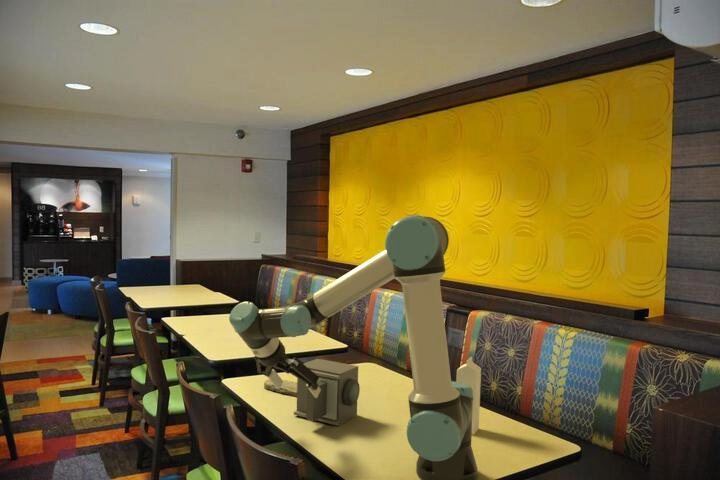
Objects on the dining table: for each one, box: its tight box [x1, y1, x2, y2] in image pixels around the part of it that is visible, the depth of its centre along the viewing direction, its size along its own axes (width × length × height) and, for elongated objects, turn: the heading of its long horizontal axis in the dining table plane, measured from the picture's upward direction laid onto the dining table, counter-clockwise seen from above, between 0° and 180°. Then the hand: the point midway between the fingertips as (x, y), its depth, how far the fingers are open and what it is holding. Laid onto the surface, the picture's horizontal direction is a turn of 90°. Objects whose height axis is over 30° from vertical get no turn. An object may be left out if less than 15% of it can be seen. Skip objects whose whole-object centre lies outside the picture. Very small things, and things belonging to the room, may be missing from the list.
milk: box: [455, 356, 482, 436], centre depth 168 cm, size 6×6×22 cm
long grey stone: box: [263, 379, 297, 398], centre depth 198 cm, size 35×5×10 cm
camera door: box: [306, 377, 338, 422], centre depth 167 cm, size 9×8×12 cm
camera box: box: [293, 358, 361, 427], centre depth 176 cm, size 18×12×16 cm
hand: (298, 389), depth 161 cm, fingers open, 13 cm apart
